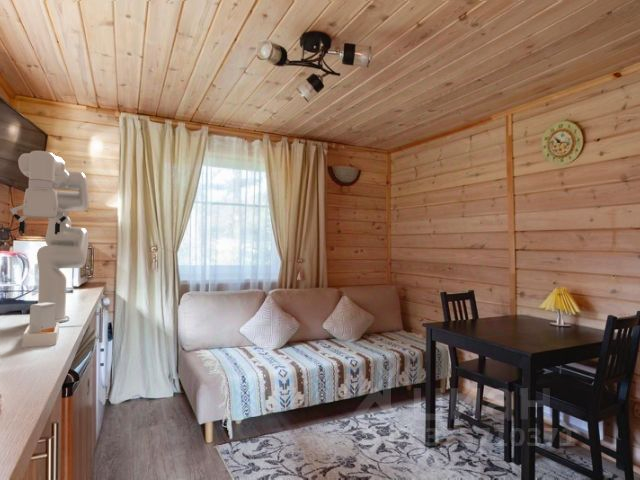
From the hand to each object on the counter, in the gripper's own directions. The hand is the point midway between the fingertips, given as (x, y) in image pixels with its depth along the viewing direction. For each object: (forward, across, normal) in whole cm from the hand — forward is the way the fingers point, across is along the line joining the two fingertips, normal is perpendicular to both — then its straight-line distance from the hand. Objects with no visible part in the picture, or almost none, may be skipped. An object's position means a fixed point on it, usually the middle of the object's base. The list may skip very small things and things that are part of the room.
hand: (40, 233), depth 141 cm
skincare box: (+36, -2, +12) cm, 38 cm away
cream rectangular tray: (+36, -2, +8) cm, 37 cm away
